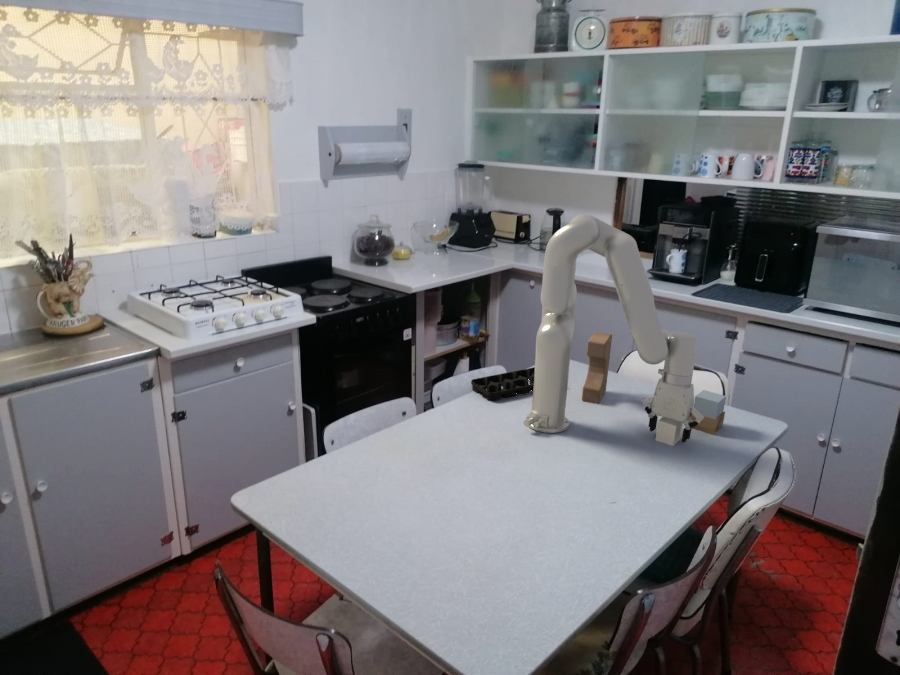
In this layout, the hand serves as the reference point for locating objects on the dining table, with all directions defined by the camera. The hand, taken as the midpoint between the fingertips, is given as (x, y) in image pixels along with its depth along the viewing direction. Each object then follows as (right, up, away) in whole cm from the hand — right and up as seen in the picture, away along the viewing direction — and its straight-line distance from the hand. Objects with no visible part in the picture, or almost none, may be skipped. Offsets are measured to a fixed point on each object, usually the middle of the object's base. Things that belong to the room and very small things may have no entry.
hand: (668, 435), depth 181 cm
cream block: (0, -1, 0) cm, 1 cm away
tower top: (+14, +6, +8) cm, 17 cm away
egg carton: (-39, +10, +33) cm, 52 cm away
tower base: (+14, +1, +9) cm, 17 cm away
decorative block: (-15, +8, +28) cm, 33 cm away
